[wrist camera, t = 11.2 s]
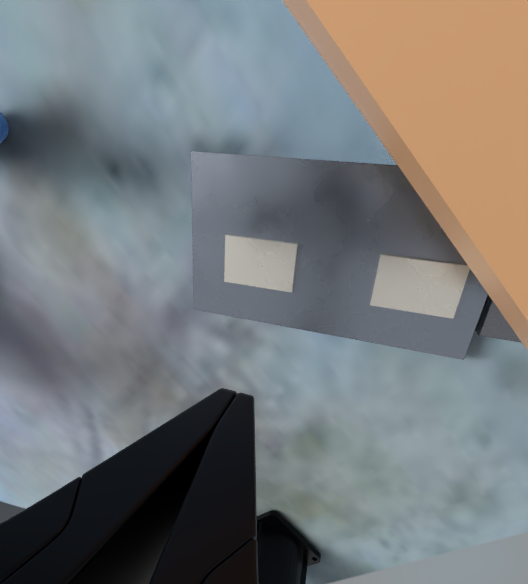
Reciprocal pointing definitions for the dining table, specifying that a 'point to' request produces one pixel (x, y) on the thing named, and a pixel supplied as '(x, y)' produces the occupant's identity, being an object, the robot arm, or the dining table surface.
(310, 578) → the dining table surface
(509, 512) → the dining table surface
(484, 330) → the grey flat block
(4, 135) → the grapes
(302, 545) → the robot arm
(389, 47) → the orange wooden beam
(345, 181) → the label plate
